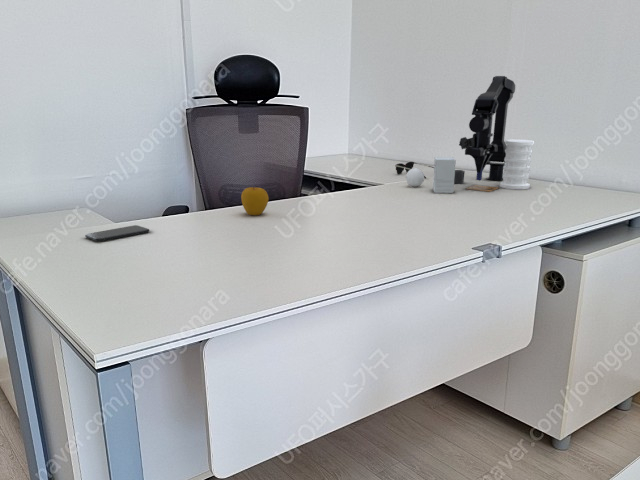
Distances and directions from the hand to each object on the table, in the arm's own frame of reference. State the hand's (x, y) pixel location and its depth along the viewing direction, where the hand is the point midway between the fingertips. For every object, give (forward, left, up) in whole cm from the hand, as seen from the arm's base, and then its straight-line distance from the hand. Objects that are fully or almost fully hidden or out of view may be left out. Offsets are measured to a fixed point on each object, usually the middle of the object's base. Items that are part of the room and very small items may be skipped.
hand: (479, 172), depth 231 cm
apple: (+87, -40, -7) cm, 96 cm away
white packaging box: (+13, -9, -7) cm, 17 cm away
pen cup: (-9, -12, -7) cm, 16 cm away
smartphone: (+129, -53, -7) cm, 140 cm away
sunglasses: (-17, -35, -7) cm, 39 cm away
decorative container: (-13, +10, -7) cm, 18 cm away
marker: (0, 0, -3) cm, 3 cm away
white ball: (+9, -24, -7) cm, 27 cm away
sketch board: (-2, +1, -7) cm, 7 cm away
